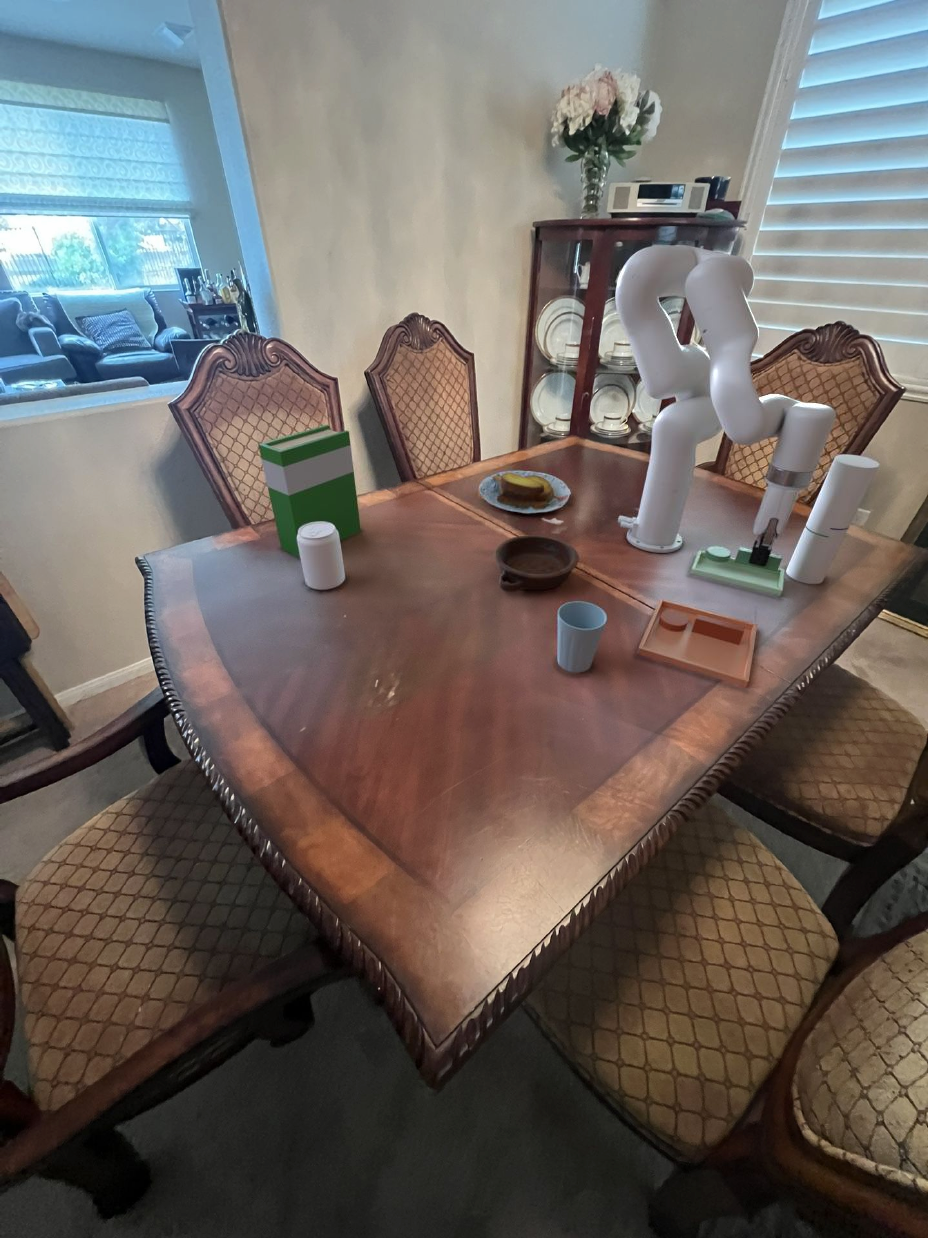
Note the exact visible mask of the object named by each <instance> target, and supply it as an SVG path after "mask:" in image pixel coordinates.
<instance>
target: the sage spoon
mask: <svg viewBox="0 0 928 1238" xmlns="http://www.w3.org/2000/svg"><path fill="white" fill-rule="evenodd" d="M752 551H753V548H747V547H743V546H739V547H738V550H737V554H736V556H735V558H736V559H735V563H739V564H743V565H748V566H753V567H757V568H762V569H766V570H771V571H775V572H777V570H778V568H780V565H781V563H782V560H783V555H781V554H777V553H772V552H771V553H770V556H769V558H768V561H767V564H766V566H764V567H763V566H759V565H754V564H750V563H749V559H750V556H751V553H752ZM705 552H706V554H705V556H706V558H708V559H709V560H711V561H714V562H720V563H723V562H727V561H729V559H730V557H732V552H731V550H729V549H728V548H725V547H723V546H719V545H712V546H708V547H707V548H706V551H705Z"/></svg>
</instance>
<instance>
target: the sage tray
mask: <svg viewBox="0 0 928 1238" xmlns="http://www.w3.org/2000/svg"><path fill="white" fill-rule="evenodd" d="M705 554H706V551H705V550H700V549H698V550H697V554H696V556H695V559H694V562H693V564H692V566H691V569H690V572H689V575H690V576H694V577H699V578H703V579H706V580H711V581H713V582H714V581H715V582H718V583H723V584H727V585H731V586H735V587H739V588H743V589H747V590H752V591H755V592H760V593H763V594H768V595H772V596H777V597H781V596H782V594H783V592H784V591H783V590H784V581H785V572H786V570H785V569H784V568H781V567H779V568H778V570H777V572H775V571H771V570H766V569H762V568H757V567H753V566H748V565H743V564H739V563H735V559H736V557H732V556H730V559H729V561H727V562H723V563H720V562H714V561H711V560H709V559H708V558H706V556H705Z"/></svg>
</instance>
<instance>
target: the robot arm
mask: <svg viewBox="0 0 928 1238" xmlns="http://www.w3.org/2000/svg"><path fill="white" fill-rule="evenodd" d="M617 278H618V279H617V282H616V287H615V308H616V311H617V312H616V313H617V315H618V318H619V321H620V324H621V327H622V329H623V331H624V333H625V335H626V338H627V340H628V343H629V346H630V349H631V352H632V357H633V358H634V361H635V364H636V368H637V370H638V374H639V376H640V380H641V382H642V384H643V387H644V389H645V391H646V393H647V395H648V396H649V397H650V398H652V399H655V400H666V399H672V398H675V400H676V401H675V402H672V403H671V404H669V405H667V406H665V407H664V408H663V409H662V410H661V411H660V412H659V413H658V414H657V416H656V418H655V420H654V422H653V425H652V430H651V448H650V456H649V462H648V467H647V472H646V478H645V482H644V486H643V491H642V495H641V500H640V503H639V508H638V514H637V517H635V516H632V517H628V516H624V515H619V516H618V518H617V524H619V528H621V529H627V532H626V540H627V541H628V542H629V544H631V545H632V546H634V547H635V548H637V549H640V550H642V551H644V552H649V553H654V554H655V553H658V554H667V553H672V552H675V551H679V549H680V548H681V547H682V544H683V538H682V536H681V535H680V534H679V529H680V525H681V521H682V519H683V514H684V510H685V507H686V504H687V499H688V496H689V492H690V489H691V486H692V481H693V477H694V474H695V470H696V461H697V460H696V459H697V458H696V453H697V452H696V451H697V447H698V445H700V444H701V443H703V442H706V441H709V440H711V439H712V438H715V437H716V436H717V435H719V434H720V432H721V431H722V430H723V431H724V433H725V434H726V436H727V437H728V439H729V440H731V441H732V442H733V443H735V444H737V445H739V446H752V445H755V444H758V443H760V442H762V441H765V440H767V439H773V438H777V441H776V443H775V446H774V448H773V453H772V455H771V458H770V462H769V464H768V467H767V470H766V473H765V476H764V478H763V479H764V482H765V484H767V486H766V489H765V492H764V494H763V496H762V499H761V503H760V506H759V509H758V512H757V513H756V517H755V519H754V523H753V528H752V534H753V535H754V536H757V538H756V539H755V540H754V543H753V546H752V549H753V551H752V553H751V556H750V559H749V563H750V564H754V565H759V566H763V567H764V566H766V564H767V561H768V558H769V556H770V553H772V550H773V545H774V542H775V540H779V539H781V537H782V535H783V534H784V531H785V529H786V526H787V524H788V521H789V518H790V516H791V514H792V512H793V510H794V507H795V504H796V502H797V500H798V496H799V493H800V491H804V490H807V489H809V487H810V485H811V482H812V480H813V478H814V475H815V472H816V469H817V468H818V464H819V463H820V460H821V457H822V455H823V452H824V449H825V447H826V444H827V441H828V439H829V438H830V437H829V436H830V434H831V432H832V429H833V426H834V424H835V421H836V417H837V414H836V413H837V412H836V410H835V409H834V408H833V407H831V406H828V405H827V404H826V405H825V404H821V403H816V402H815V403H814V402H813V403H812V402H803V401H799V400H796V399H794V398H791V397H788V396H786V395H782V394H777V393H775V394H774V393H772V394H766V395H763V396H760V397H759V395H758V391H757V389H756V387H755V385H754V384H755V383H754V381H753V377H752V372H751V371H752V370H751V362H752V361H751V360H752V355H753V352H754V349H755V348H756V345H757V342H758V340H759V337H760V329H759V327H758V324H757V322H756V320H755V317H754V314H753V313H752V310H751V308H750V305H749V302H748V300H747V298H748V297H749V296H750V294H751V292H752V290H753V288H754V285H755V271H754V268H753V266H752V264H751V263H750V262H749V261H748V260H747V259H746V258H744V257H742V256H740V255H734V254H729V253H723V252H718V251H715V250H710V249H705V248H701V247H698V246H697V247H696V246H691V245H683V244H682V245H678V244H677V245H667V244H666V245H652V246H647V247H644V248H642V249H640V250H638V251H636V252H635V253H634V254H632V255H631V256H630V257H629V258H628V260H626V262H625V264H624V265H623V267H622V269H621V271H620V273H619V276H618V277H617ZM665 297H680V298H685V299H686V302H687V305H688V307H689V310H690V312H691V314H692V317H693V320H694V322H695V325H696V327H697V329H698V331H699V334H700V337H701V338H702V341H703V344H704V347H705V348H706V351H705V350H704V349H703V348H702V347H700V346H698V345H695V344H682V345H681V343H680V342H679V340H678V338H677V335H676V332H675V329H674V325H673V322H672V320H671V318H670V316H669V314H668V313H667V312H666V310H665V309H664V307H662V305H661V302H660V298H665Z"/></svg>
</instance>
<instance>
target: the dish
mask: <svg viewBox="0 0 928 1238" xmlns="http://www.w3.org/2000/svg"><path fill="white" fill-rule="evenodd" d="M494 559H495V561H496V563H497V565H498V569H499V572H500V573H501V575H500V577H499V583H498V584H499V585H498V586H499V588H500V589H501V590H503V591H505V592H516V591H519V590H522V589H525V590H531V591H542V590H543V591H545V590H549V589H553V588H555V587H558V586H560V585H562V584H563V583H564V582H566V580H567V579H569V577H570V575H571V574H572V572H573V570H574V569H575V568H576V567H577V566H578V563H579V562H580V561H579V560H580V556H579V553H578V552H577V550H576V548H574V547H573V546H572V545H570V544H568V543H567V542H565V541H563V540H560V539H557V538H553V537H550V536H548V537H547V536H543V535H537V534H536V535H535V534H534V535H533V534H530V535H519V536H514V537H510V538H508V539H506V540H505V541H503V542H501V543H500V544H498V545H497V547H496V548H495V550H494Z"/></svg>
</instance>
